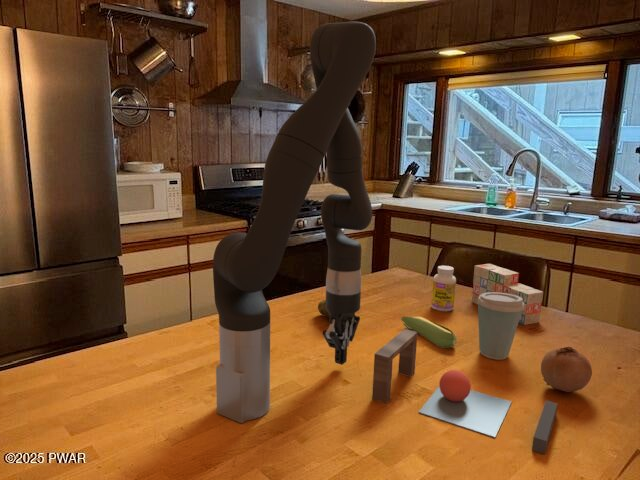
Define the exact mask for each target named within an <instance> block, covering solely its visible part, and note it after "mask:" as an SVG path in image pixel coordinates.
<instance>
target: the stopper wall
mask: <svg viewBox="0 0 640 480" xmlns="http://www.w3.org/2000/svg"><path fill="white" fill-rule="evenodd" d="M557 408H558V403H557V402H554V401H550V400H545V402H544V405H543V409H542V411H541V414H540V416H539V420H538V423H537V426H536V429H535V432H534V434H533V438H532V439H533V440H532V446H531V451H533V452H536V453H539V454H542V455H546V451H547V447H548V444H549V442H550V441H549V440H550V436H551V432H552V431H553V427H554V423H555V420H556V416H557V410H558V409H557Z"/></svg>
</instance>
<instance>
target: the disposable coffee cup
mask: <svg viewBox="0 0 640 480" xmlns="http://www.w3.org/2000/svg"><path fill="white" fill-rule="evenodd" d="M522 300H523V298H521V297H519V296H516V295H512V294H507V293H499V292H487V293H483V294H481V295H480V296H479V298H478V301H477V303H478V304H477V317H478V318H477V319H478V320H477V321H478V344H479V345H478V347H479V348H478V349H479V351H480V354H481V355H482V356H484V357H486V358H488V359H492V360H498V361H500V360H501V361H502V360H505V359H507V358H508V356H510V355H509V354H510V351H511V348H512V345H513V341H514V339H515V335H516V333H517V329H518V326H519V324H520V323H519V319H520V316H521V313H522V311H523V310H524V302H522Z"/></svg>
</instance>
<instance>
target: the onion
mask: <svg viewBox="0 0 640 480" xmlns="http://www.w3.org/2000/svg"><path fill="white" fill-rule="evenodd" d="M540 373H541V375H542V377H543V379H542V380H543V382H544V383H546V384H545V385H547V386H550V388H553V389H556V390H558V391H562V392H566V393H573V392H577V391H580V390H582V389H583V390H584V388H585V387H587V385H588V384H589V382H590V381H591V379H592V375H593V369H592V366H591V363H590V361H589V359H587V357H586V356H585V355H583V354H582V353H580V352H579V351H578V350H577V349H575V348H573V347H572V346H565V347H559V348H556V349H552V350H550V351H549V352H547V353H545V355H544V356H543V358H542V359H541V363H540Z"/></svg>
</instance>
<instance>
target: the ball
mask: <svg viewBox="0 0 640 480" xmlns="http://www.w3.org/2000/svg"><path fill="white" fill-rule="evenodd" d="M471 384H472V383H471V381H470V379H469V377H468V376H467V375H466V374H465V373H464V372H462V371H460V370H457V369H450V370H448V371H446V372H444V373H443V374H442V376H441V377H440V379H439V386H438V387H440V391H441V393H442V394H443V396H444V397H445V398H447V399H448V400H450V401H454V402H458V401H462V400H464V399H465V398H466V397H467V396H468V395H469V393H470V390H472V385H471Z"/></svg>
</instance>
